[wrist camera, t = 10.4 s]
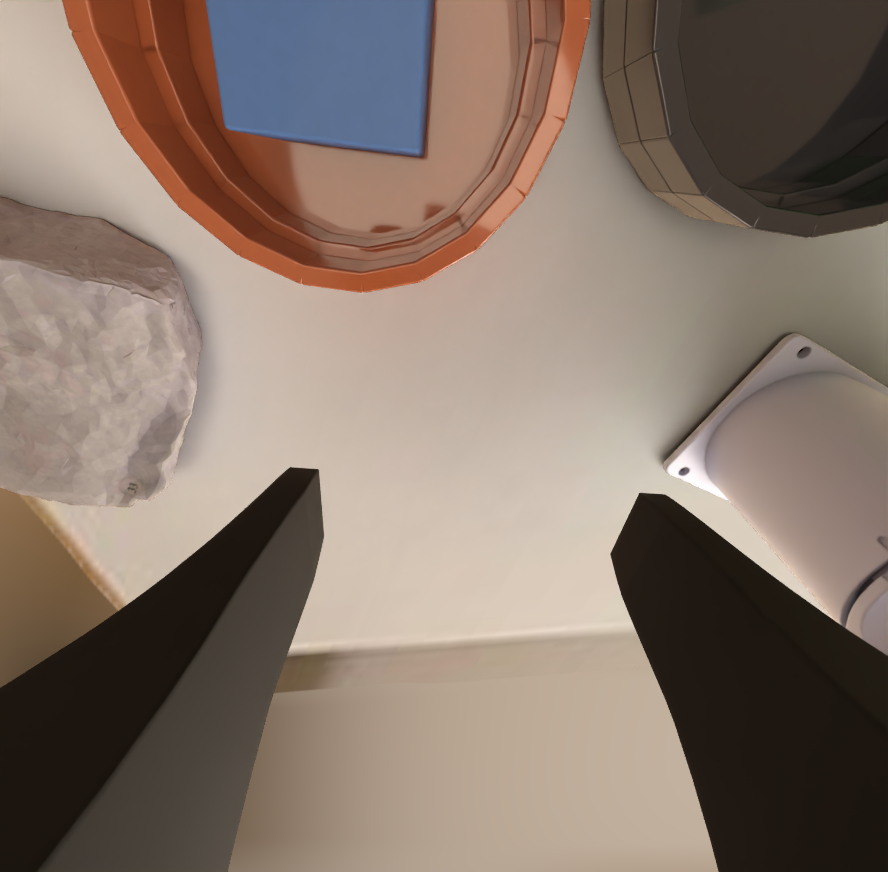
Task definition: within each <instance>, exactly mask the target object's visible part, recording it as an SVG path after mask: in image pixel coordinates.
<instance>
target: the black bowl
mask: <svg viewBox="0 0 888 872" xmlns="http://www.w3.org/2000/svg"><path fill="white" fill-rule="evenodd" d="M603 78H604V79H603V83H604V87H605V91H606V95H607V99H608V103H609V107H610V112H611V116H612V120H613V124H614V128H615V132H616V136H617V140H618V143H619V146H620V148H621V149H622V151H623V152H624V154H625V155H626V157H627V159H628V160H629V162H630V163H631V165H632V166H633V168H634V169H635V171H636V172H637V174H638V175H639V177H640V178H641V180H642V181H643V183H644V185H645V186H646V188H647V189H648V190H649V191H650V192H652V193H653V194H655V195H656V196H658V197H659V198H661V199H662V200H664V201H665V202H667V203H668V204H670V205H671V206H673V207H675V208H676V209H678V210H679V211H681V212H682V213H684V214H685V215H687V216H690V217H692V218H697V219H703V220H708V221H713V222H719V223H724V224H729V225H734V226H739V227H745V228H750V229H756V230H762V231H768V232H774V233H780V234H786V235H792V236H798V237H804V238H808V237H810V238H813V237H818V236H824V235H829V234H835V233H840V232H845V231H851V230H856V229H862V228H867V227H873V226H877V225H878V224H883V223H885V222H887V221H888V0H604V39H603Z"/></svg>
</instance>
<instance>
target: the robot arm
mask: <svg viewBox="0 0 888 872" xmlns="http://www.w3.org/2000/svg"><path fill="white" fill-rule="evenodd" d="M803 347H804V349H803V350H802V352H800V353H799V354H798V352H799V350H800V349H802V348H803ZM684 467H685V468H684ZM663 468H664V470H665V471H666V472H667V473H668V474H669V475H671V476H674V477H676V478H678V479H680V480H683V481H685V482H687V483H689V484H692V485H694V486H696V487H699V488H701V489H703V490H705V491H708V492H710V493H712V494H714V495H717V496H719V497H721V498H723V499H726V500H728V501H730V502H731V503H732V505H733V506H734V507H735V508H736V509H737V510H738V511H739V513H740V514H741V515H742V516H743V517H744V518H745V519H746V521H747V522H748V523H749V524H750V525H751V526H752V527H753V529H754V530H755V531H756V532H757V533H758V534H759V535H760V536H761V538H762V539H763V540H764V541H765V542H766V543H767V544H768V546H769V547H770V548H771V549H772V550H773V551H774V552H775V554H776V555H777V556H778V557H779V558H780V559H781V560H782V562H783V563H784V564H785V565H786V566H787V567H788V568H789V570H790V571H791V572H792V573H793V574H794V575H795V576H796V578H797V579H798V580H799V581H800V582H801V583H802V584H803V585H804V587H805V588H806V589H807V590H808V591H809V592H810V593H811V595H812V596H813V597H814V598H815V599H816V600H817V601H818V603H819V604H820V605H821V606H822V607H823V608H824V609H825V611H826V612H827V613H828V614H829V615H830V616H831V617H832V619H831V618H830V617H828V616H827V615H826V614H824V613H823V612H821V611H820V610H819V609H817V608H816V607H814V606H813V605H812V604H810V603H809V602H807V601H806V600H805V599H803V598H802V597H800V596H799V595H798V594H796V593H795V592H793V591H792V590H791V589H789V588H788V587H787V586H785V585H784V584H783V583H781V582H780V581H779V580H777V579H776V578H775V577H773V576H772V575H771V574H769V573H768V572H767V571H765V570H764V569H763V568H761V567H760V566H759V565H757V564H756V563H755V562H753V561H752V560H751V559H750V558H748V557H747V556H746V555H744V554H743V553H742V552H740V551H739V550H738V549H737V548H735V547H734V546H733V545H732V544H730V543H729V542H728V541H726V540H725V539H724V538H723V537H721V536H720V535H719V534H717V533H716V532H715V531H714V530H712V529H711V528H710V527H709V526H707V525H706V524H705V523H703V522H702V521H701V520H699V519H698V518H697V517H696V516H694V515H693V514H692V513H690V512H689V511H688V510H686V509H685V508H684V507H682V506H681V505H680V504H678V503H677V502H675V501H674V500H672V499H671V498H670V497H668V496H667V495H663V494H649V493H639V495H638V497H637V499H636V501H635V504H634V506H633V508H632V510H631V512H630V514H629V516H628V518H627V520H626V522H625V525H624V527H623V529H622V531H621V533H620V535H619V537H618V539H617V541H616V543H615V546H614V548H613V550H612V552H611V558H612V562H613V566H614V570H615V574H616V578H617V581H618V585H619V588H620V591H621V595H622V598H623V600H624V603H625V605H626V608H627V610H628V612H629V615H630V617H631V620H632V622H633V624H634V627H635V629H636V632H637V634H638V636H639V639H640V641H641V643H642V646H643V648H644V650H645V653H646V655H647V657H648V660H649V662H650V664H651V667H652V669H653V671H654V674H655V676H656V679H657V681H658V683H659V685H660V688H661V690H662V693H663V695H664V697H665V700H666V702H667V705H668V707H669V710H670V713H671V715H672V718H673V721H674V723H675V726H676V729H677V732H678V736H679V739H680V742H681V744H682V748H683V751H684V754H685V757H686V760H687V763H688V766H689V769H690V773H691V775H692V779H693V782H694V786H695V789H696V792H697V796H698V799H699V802H700V806H701V809H702V813H703V816H704V820H705V823H706V827H707V830H708V833H709V837H710V840H711V844H712V848H713V852H714V856H715V859H716V863H717V867H718V871H719V872H888V387H886V386H884V385H883V384H881V383H880V382H878V381H876V380H875V379H873V378H871V377H870V376H868V375H867V374H865V373H863V372H862V371H860V370H858V369H857V368H855V367H854V366H852V365H850V364H849V363H847V362H846V361H844V360H842V359H841V358H839V357H837V356H836V355H834V354H833V353H831V352H829V351H828V350H826V349H824V348H823V347H821V346H820V345H818V344H816V343H815V342H813V341H811V340H810V339H808V338H807V337H805V336H803V335H800V334H797V333H794V334H790V335H788V336H786V337H785V338H783V339H782V340H781V341H780V342H779V343H778V344H777V345H776V346H775V347H774V348H773V349H772V351H771V352H770V353H769V354H768V355H767V356H766V357H765V358H764V359H763V360H762V361H761V362H760V363H759V364H758V365H757V366H756V367H755V368H754V369H753V370H752V371H751V372H750V373H749V374H748V375H747V377H746V378H745V379H744V380H743V381H742V382H741V383H740V384H739V385H738V386H737V387H736V388H735V389H734V390H733V391H732V392H731V393H730V394H729V395H728V396H727V397H726V398H725V399H724V400H723V401H722V402H721V404H720V405H719V406H718V407H717V408H716V409H715V410H714V411H713V412H712V413H711V414H710V415H709V416H708V417H707V418H706V419H705V420H704V421H703V422H702V423H701V424H700V425H699V426H698V427H697V428H696V430H695V431H694V432H693V433H692V434H691V435H690V436H689V437H688V438H687V439H686V440H685V441H684V442H683V443H682V444H681V445H680V446H679V447H678V448H677V449H676V450H675V451H674V452H673V453H672V454H671V455H670V457H669V458H668V459H667V460H666V461H665V462H664V464H663ZM682 468H684V469H683V470H680V469H682ZM323 538H324V530H323V518H322V505H321V492H320V480H319V469H306V468H292V467H290V468H289V469H287V470H286V471H285V472H284V473H283V474H282V475H281V476H280V477H278V478H277V479H276V480H275V481H274V482H273V483H272V484H271V485H270V486H269V487H268V488H267V489H266V490H265V491H264V492H263V493H262V494H260V495H259V496H258V497H257V498H256V499H255V500H254V501H253V502H252V503H251V504H250V505H249V506H248V507H247V508H245V509H244V510H243V511H242V512H241V513H240V514H239V515H238V516H237V517H235V518H234V519H233V520H232V521H231V522H230V523H229V524H228V525H226V526H225V527H224V528H223V529H222V530H221V531H220V532H219V533H217V534H216V535H215V536H214V537H213V538H212V539H211V540H209V541H208V542H207V543H206V544H205V545H203V546H202V547H201V548H200V549H198V550H197V551H196V552H195V553H194V554H192V555H191V556H190V557H189V558H187V559H186V560H185V561H184V562H182V563H181V564H180V565H179V566H178V567H176V568H175V569H174V570H173V571H171V572H170V573H169V574H168V575H166V576H165V577H164V578H163V579H161V580H160V581H159V582H157V583H156V584H155V585H153V586H152V587H151V588H149V589H148V590H147V591H145V592H144V593H143V594H141V595H140V596H139V597H137V598H136V599H135V600H133V601H132V602H130V603H129V604H128V605H126V606H125V607H123V608H122V609H121V610H119V611H118V612H116V613H115V614H114V615H112V616H111V617H109V618H108V619H106V620H105V621H104V622H102V623H101V624H99V625H98V626H96V627H95V628H93V629H92V630H90V631H89V632H87V633H86V634H84V635H83V636H81V637H80V638H78V639H77V640H75V641H73V642H72V643H70V644H69V645H67V646H66V647H64V648H62V649H61V650H59V651H58V652H57V653H55V654H53V655H52V656H50V657H49V658H47V659H45V660H44V661H42V662H41V663H39V664H37V665H36V666H34V667H33V668H31V669H30V670H28V671H27V672H25V673H23V674H22V675H20V676H19V677H17V678H16V679H14V680H12V681H11V682H9V683H8V684H6V685H4V686H3V687H1V688H0V872H228V868H229V864H230V860H231V855H232V851H233V847H234V843H235V838H236V834H237V830H238V825H239V822H240V818H241V814H242V810H243V806H244V802H245V798H246V794H247V790H248V786H249V782H250V778H251V774H252V770H253V766H254V762H255V759H256V755H257V751H258V747H259V743H260V740H261V736H262V732H263V729H264V725H265V721H266V717H267V713H268V710H269V706H270V703H271V700H272V697H273V694H274V691H275V688H276V684H277V682H278V679H279V676H280V673H281V670H282V668H283V665H284V662H285V659H286V657H287V654H288V651H289V648H290V645H291V643H292V640H293V637H294V634H295V632H296V629H297V626H298V623H299V620H300V618H301V615H302V612H303V609H304V606H305V604H306V601H307V598H308V595H309V592H310V589H311V587H312V584H313V581H314V577H315V573H316V569H317V565H318V561H319V556H320V552H321V547H322V543H323Z"/></svg>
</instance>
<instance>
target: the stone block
mask: <svg viewBox="0 0 888 872" xmlns="http://www.w3.org/2000/svg"><path fill="white" fill-rule="evenodd" d="M201 346H202V337H201V332H200V328H199V325H198V322H197V321H196V319H195V317H194V314H193V312H192V309H191V306H190V303H189V300H188V297H187V294H186V291H185V288H184V285H183V283H182V280H181V278H180V276H179V274H178V272H177V270H176V268H175V266H174V264H173V263H172V261H171V260H170V259H169V257H168V256H166V255H164V254H163V253H161V252H160V251H158V250H156V249H155V248H152V247H150V246H148V245H145V244H144V243H142V242H140V241H139V240H137V239H135V238H133V237H131V236H129V235H127V234H125V233H123V232H122V231H120V230H119V229H117V228H116V227H114V226H112V225H111V224H109V223H108V222H106V221H104V220H103V219H98V218H93V217H84V216H74V215H70V214H66V213H61V212H57V211H47V210H43V209H38V208H34V207H30V206H26V205H22V204H19V203H17V202H15V201H13V200H11V199H7V198H3V197H0V488H4V489H7V490H10V491H12V492H15V493H19V494H22V495H27V496H33V497H38V498H41V499H45V500H48V501H57V502H61V503H65V504H70V505H86V506H105V507H131V506H132V505H133V504H134V503H135V502H136V501H138V500H152V499H154V498H155V497H156V496H157V495H158V494H159V493H160V492H162V491H163V490H165V489H166V488H167V487H168V486H169V485H170V483H171V481H172V480H173V477H174V472H175V468H176V465H177V458H178V454H179V449H180V447H181V445H182V444H183V441H184V432H185V428H186V426H187V423H188V421H189V418H190V417H191V415H192V409H193V403H194V399H195V396H196V392H197V386H198V385H197V377H196V368H197V366H198V364H199V353H200V350H201Z"/></svg>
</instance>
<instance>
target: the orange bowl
mask: <svg viewBox="0 0 888 872" xmlns="http://www.w3.org/2000/svg"><path fill="white" fill-rule="evenodd" d="M62 2H63V6H64V10H65V14H66V18H67V21H68V25H69V28H70V30H71V31H73V32H72V36H73V38H74V40H75V42H76V44H77V46H78V48H79V50H80V52H81V54H82V56H83V59H84V61H85V63H86V65H87V67H88V69H89V71H90V73H91V75H92V77H93V79H94V81H95V83H96V85H97V87H98V89H99V91H100V93H101V95H102V97H103V99H104V101H105V103H106V105H107V107H108V109H109V111H110V113H111V115H112V117H113V119H114V122H115V124H116V126H117V127H118V129H119V130H121V131H120V132H121V134H122V135H123V137H124V138H125V139H126V141H127V142H128V143H129V144H130V146H131V147H132V148H133V150H134V151H135V152H136V153H137V155H138V156H139V157H140V159H141V160H142V161H143V162H144V164H145V165H146V166H147V167H148V169H149V170H150V171H151V173H152V174H153V175H154V176H155V178H156V179H157V180H158V182H159V183H160V184H161V185H162V187H163V188H164V189H165V191H166V192H167V193H168V194H169V196H170V197H171V198H172V200H173V201H174V202H175V203H176V204H178V207H180V208H181V209H182V210H183V211H184V212H186V213H187V214H188V215H189V216H191V217H192V218H193V219H194V220H196V221H197V222H198V223H199V224H200V225H202V226H203V227H204V228H205V229H207V230H208V231H209V232H210V233H211V234H213V235H214V236H215V237H216V238H218V239H219V240H220V241H221V242H222V243H224V244H225V245H226V246H227V247H229V248H230V249H231V250H232V251H233V252H235V253H236V254H237V255H240V256H241V257H243V258H245V259H247V260H249V261H251V262H254V263H256V264H258V265H260V266H262V267H265V268H267V269H269V270H271V271H273V272H275V273H278V274H280V275H282V276H284V277H286V278H289V279H291V280H293V281H295V282H297V283H299V284H301V283H302V284H303V285H309V286H316V287H323V288H331V289H338V290H345V291H353V292H360V293H362V292H371V291H376V290H381V289H387V288H392V287H397V286H403V285H408V284H413V283H418V282H421V281H422V280H423V281H424V280H426V279H428V278H430V277H432V276H433V275H435V274H437V273H439V272H440V271H442V270H444V269H446V268H448V267H449V266H451V265H453V264H455V263H456V262H458V261H460V260H462V259H463V258H465V257H467V256H469V255H470V254H472V253H474V252H476V250H477V249H479V248H480V247H481V246H482V245H483V244H484V243H485V242H486V241H487V240H488V239H489V238H490V237H491V235H492V234H493V233H494V232H495V231H496V230H497V229H498V228H499V227H500V226H501V225H502V224H503V222H504V221H505V220H506V219H507V218H508V217H509V216H510V215H511V214H512V213H513V212H514V211H515V210H516V208H517V207H518V206H519V205H520V204H521V203H522V202H523V201H524V200H525V198H526V197H525V196H527V195H528V194H529V192H530V190H531V188H532V186H533V184H534V182H535V180H536V178H537V176H538V174H539V172H540V171H541V169H542V167H543V165H544V163H545V161H546V159H547V157H548V155H549V153H550V151H551V149H552V147H553V145H554V143H555V141H556V139H557V137H558V136H559V134H560V132H561V130H562V128H563V126H564V123H565V120H566V119H567V115H568V111H569V107H570V103H571V99H572V95H573V90H574V86H575V82H576V78H577V74H578V69H579V65H580V61H581V57H582V53H583V49H584V44H585V40H586V36H587V32H588V28H589V24H590V20H589V19H590V17H591V0H434V11H433V27H432V42H431V58H430V74H429V89H428V105H427V121H426V137H425V152H424V156H423V157H422V158H420V157H412V156H404V155H396V154H388V153H380V152H372V151H364V150H356V149H348V148H340V147H332V146H324V145H316V144H308V143H300V142H292V141H285V140H279V139H274V138H269V137H263V136H258V135H253V134H247V133H242V132H237V131H231V130H228V129H227V128H225V125H224V120H223V114H222V107H221V100H220V94H219V87H218V81H217V74H216V67H215V61H214V54H213V47H212V41H211V34H210V27H209V21H208V14H207V8H206V1H205V0H62Z"/></svg>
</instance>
